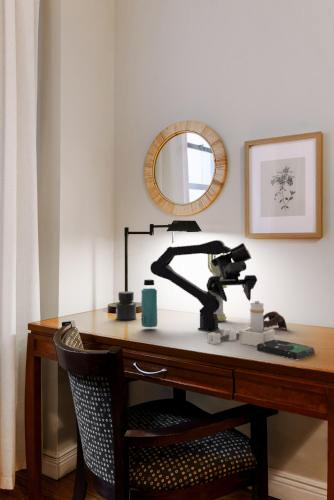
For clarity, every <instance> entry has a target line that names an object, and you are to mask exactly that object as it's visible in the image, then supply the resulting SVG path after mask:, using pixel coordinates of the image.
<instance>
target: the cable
mask: <svg viewBox="0 0 334 500" xmlns="http://www.w3.org/2000/svg"><path fill="white" fill-rule="evenodd" d="M228 338H229V335H225V336H224V335H220V342H221V341H224V340H225V341H227V340H226V339H228ZM236 338H239V332H238V333H237V332H236ZM212 341H213V338H212Z"/></svg>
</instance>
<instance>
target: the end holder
mask: <svg viewBox="0 0 334 500" xmlns="http://www.w3.org/2000/svg"><path fill="white" fill-rule="evenodd" d="M248 327H249V328H246V329H243V328H242V329H241V330H239V331H238V333H239V337H238V338H239V339H238V340H239V342H238V343H239V344H242V345H250V346H255V347H257V344H260V343H263V344H264V343H265V342H267V341H271V340H275V329H269V330H267V331H263V333H256V332H250V326H248Z"/></svg>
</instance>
